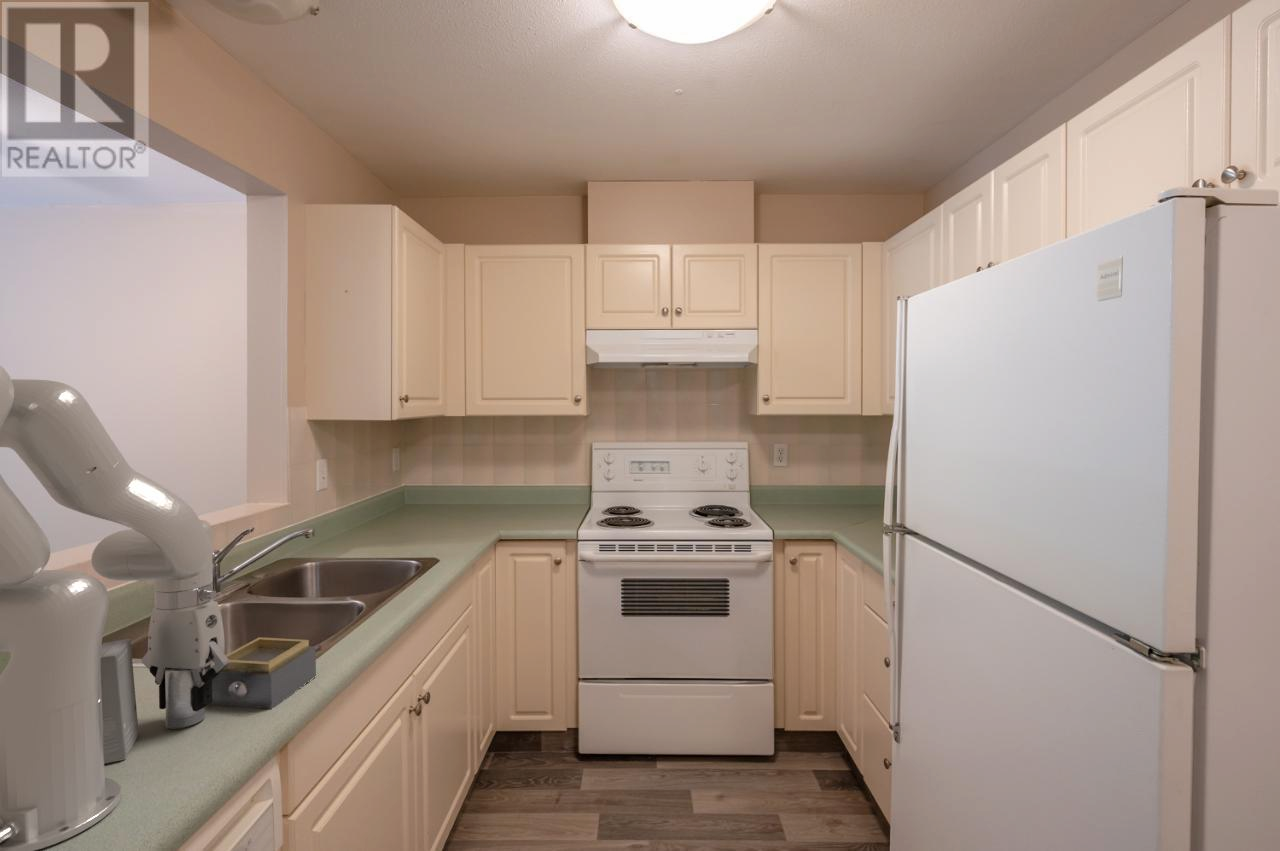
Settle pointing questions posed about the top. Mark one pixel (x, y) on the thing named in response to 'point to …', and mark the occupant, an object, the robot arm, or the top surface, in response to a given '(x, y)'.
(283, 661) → the grey gold trimmed box
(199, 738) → the top surface
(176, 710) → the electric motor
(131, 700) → the skincare box
